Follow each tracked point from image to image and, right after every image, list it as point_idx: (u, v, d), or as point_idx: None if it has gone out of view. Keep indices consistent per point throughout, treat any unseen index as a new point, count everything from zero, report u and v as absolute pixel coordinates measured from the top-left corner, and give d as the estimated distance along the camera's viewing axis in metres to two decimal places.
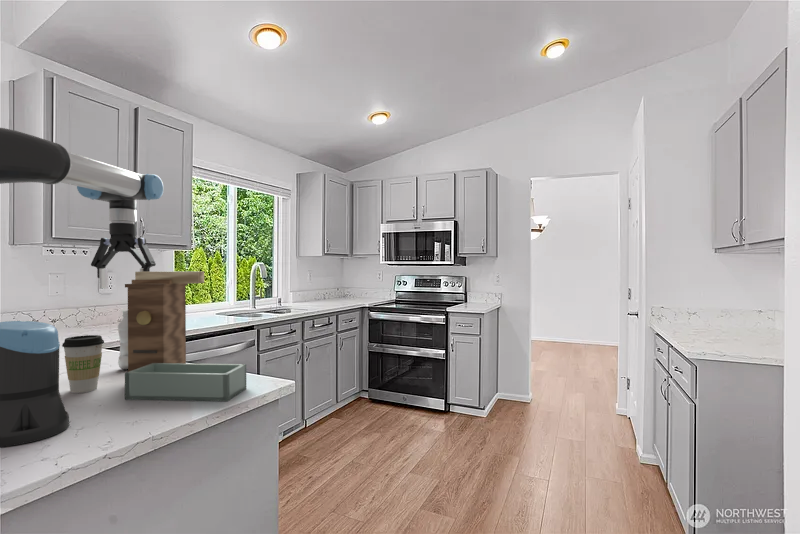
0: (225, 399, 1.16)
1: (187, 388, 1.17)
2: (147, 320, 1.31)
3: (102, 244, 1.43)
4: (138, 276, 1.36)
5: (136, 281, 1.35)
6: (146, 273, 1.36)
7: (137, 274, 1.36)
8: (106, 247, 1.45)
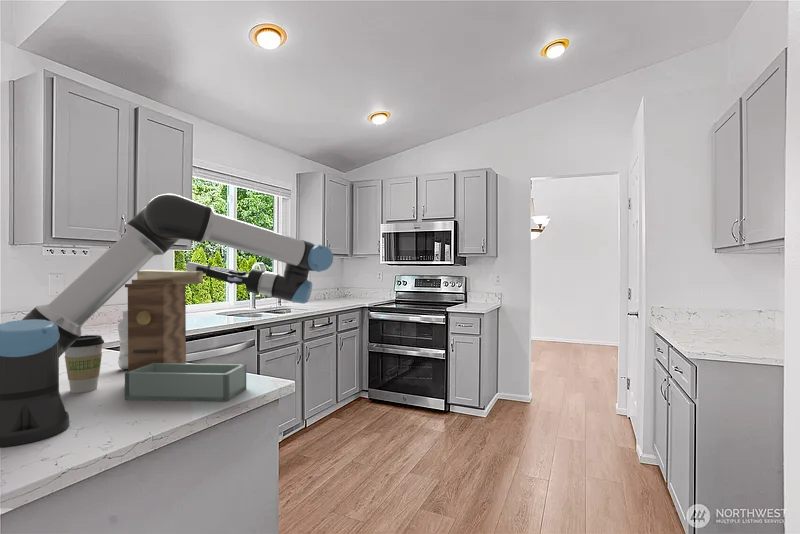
0: (225, 399, 1.16)
1: (187, 388, 1.17)
2: (147, 320, 1.31)
3: None
4: (139, 275, 1.37)
5: (136, 281, 1.35)
6: (147, 272, 1.36)
7: (139, 273, 1.37)
8: None
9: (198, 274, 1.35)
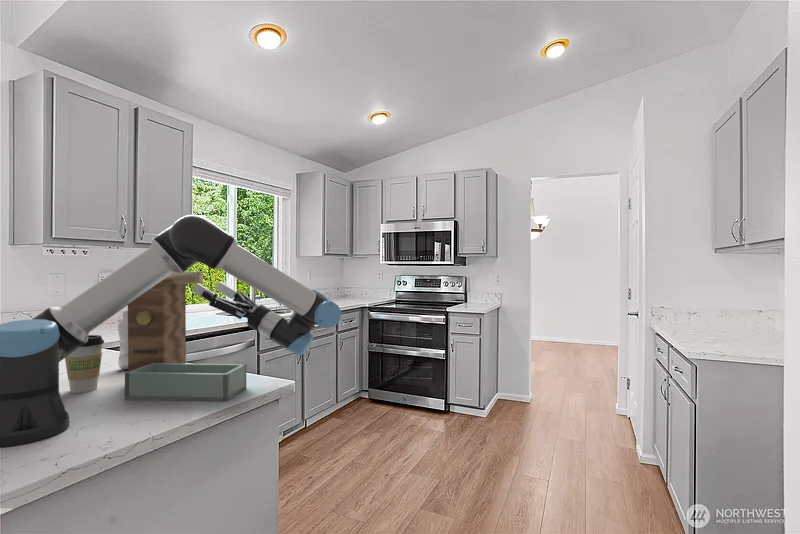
0: (225, 399, 1.16)
1: (187, 388, 1.17)
2: (147, 320, 1.31)
3: (255, 304, 1.43)
4: None
5: None
6: None
7: None
8: None
9: (199, 274, 1.35)
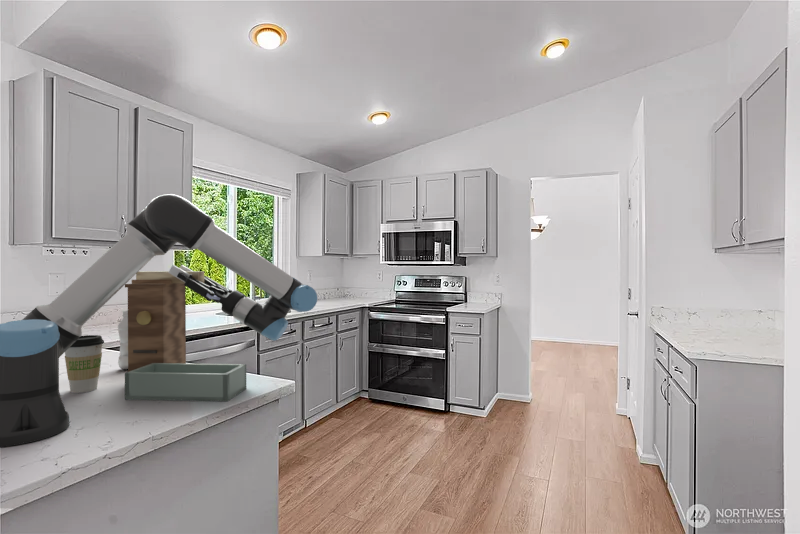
0: (225, 399, 1.16)
1: (187, 388, 1.17)
2: (147, 320, 1.31)
3: (226, 288, 1.42)
4: (138, 276, 1.37)
5: (136, 281, 1.35)
6: (147, 273, 1.36)
7: (138, 274, 1.37)
8: None
9: (200, 274, 1.36)
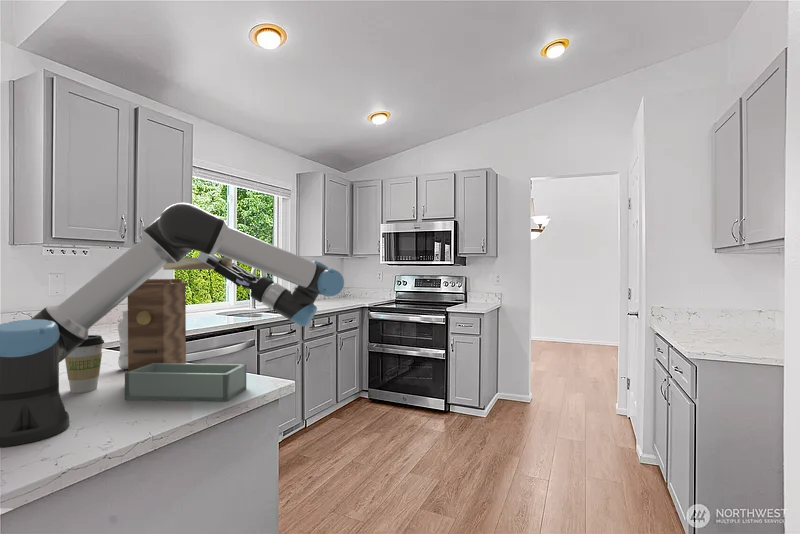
0: (225, 399, 1.16)
1: (187, 388, 1.17)
2: (147, 320, 1.31)
3: (253, 275, 1.41)
4: None
5: None
6: None
7: None
8: None
9: (229, 260, 1.36)
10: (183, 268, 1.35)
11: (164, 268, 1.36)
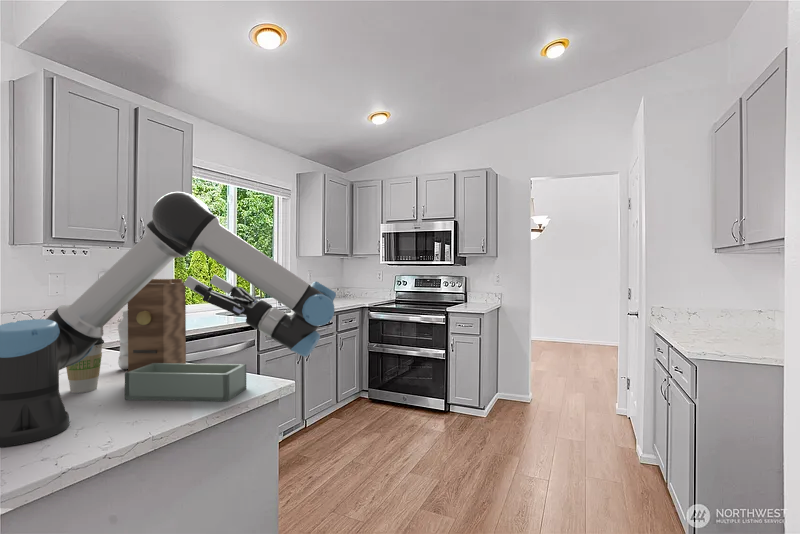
0: (225, 399, 1.16)
1: (187, 388, 1.17)
2: (147, 320, 1.31)
3: (255, 299, 1.28)
4: None
5: None
6: None
7: None
8: None
9: None
10: None
11: None
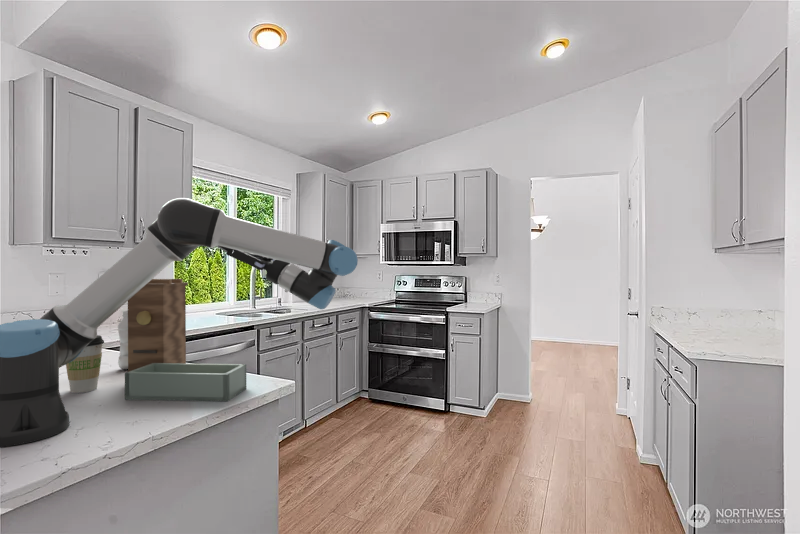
0: (225, 399, 1.16)
1: (187, 388, 1.17)
2: (147, 320, 1.31)
3: (273, 258, 1.35)
4: None
5: None
6: None
7: None
8: None
9: None
10: None
11: None
